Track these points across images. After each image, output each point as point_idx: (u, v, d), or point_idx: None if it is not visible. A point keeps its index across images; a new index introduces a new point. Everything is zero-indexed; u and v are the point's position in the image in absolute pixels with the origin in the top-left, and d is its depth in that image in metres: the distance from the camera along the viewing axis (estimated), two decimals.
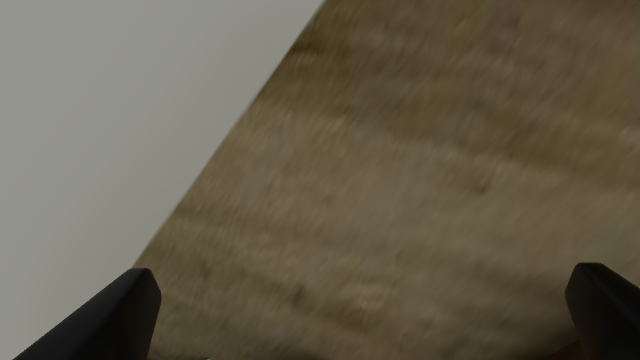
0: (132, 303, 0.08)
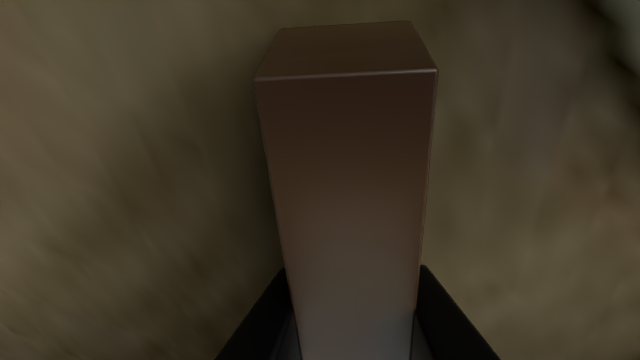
0: None
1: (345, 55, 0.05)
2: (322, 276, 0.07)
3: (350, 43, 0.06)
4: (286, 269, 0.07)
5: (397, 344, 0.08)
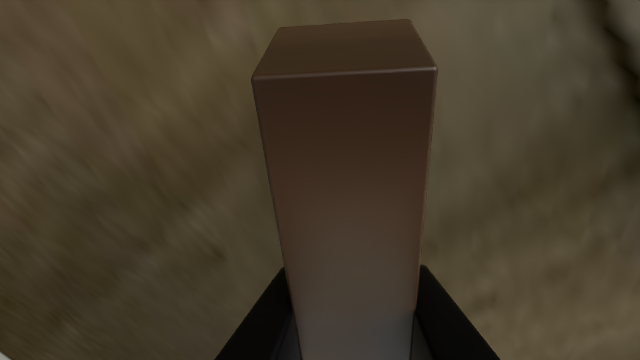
0: None
1: (343, 53, 0.05)
2: (322, 276, 0.07)
3: (349, 42, 0.06)
4: (285, 269, 0.07)
5: (398, 344, 0.07)
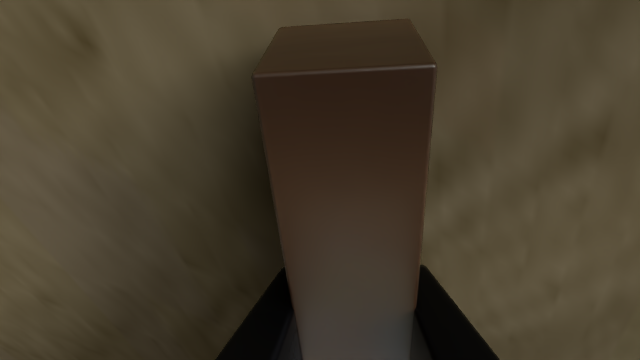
0: None
1: (344, 52, 0.05)
2: (321, 274, 0.07)
3: (349, 41, 0.06)
4: (286, 267, 0.07)
5: (398, 343, 0.07)
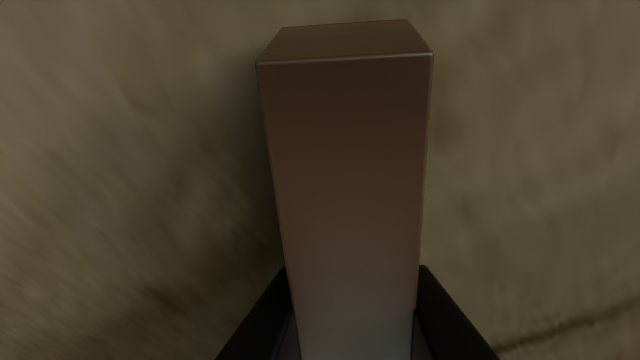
0: None
1: (344, 44, 0.05)
2: (321, 268, 0.07)
3: (349, 36, 0.06)
4: (286, 261, 0.07)
5: (398, 343, 0.07)
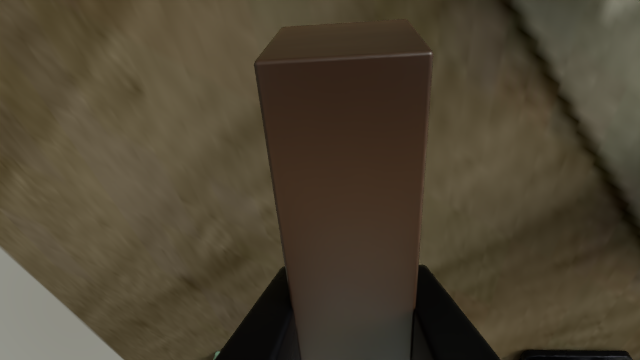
0: None
1: (343, 44, 0.05)
2: (321, 267, 0.07)
3: (349, 36, 0.06)
4: (285, 261, 0.07)
5: (398, 343, 0.07)
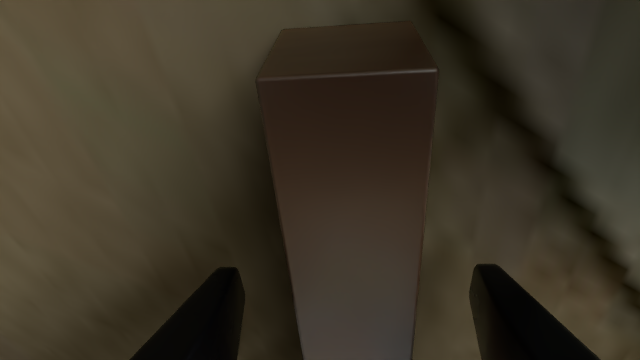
0: (228, 303, 0.08)
1: (347, 55, 0.05)
2: (324, 274, 0.07)
3: (351, 44, 0.06)
4: (288, 267, 0.07)
5: (399, 342, 0.08)
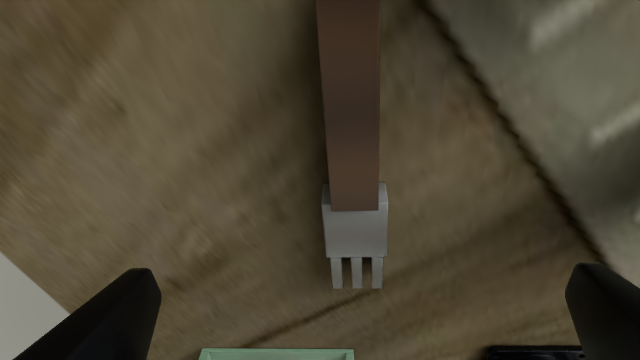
0: (132, 303, 0.08)
1: None
2: (336, 73, 0.15)
3: None
4: (320, 70, 0.15)
5: (372, 118, 0.16)
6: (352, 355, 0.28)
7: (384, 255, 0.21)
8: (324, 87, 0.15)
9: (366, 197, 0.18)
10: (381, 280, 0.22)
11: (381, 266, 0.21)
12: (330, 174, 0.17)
